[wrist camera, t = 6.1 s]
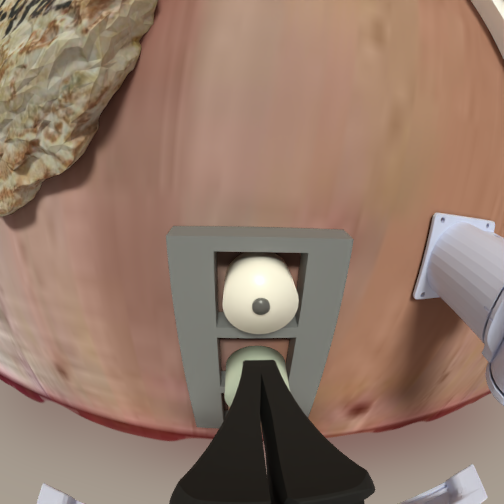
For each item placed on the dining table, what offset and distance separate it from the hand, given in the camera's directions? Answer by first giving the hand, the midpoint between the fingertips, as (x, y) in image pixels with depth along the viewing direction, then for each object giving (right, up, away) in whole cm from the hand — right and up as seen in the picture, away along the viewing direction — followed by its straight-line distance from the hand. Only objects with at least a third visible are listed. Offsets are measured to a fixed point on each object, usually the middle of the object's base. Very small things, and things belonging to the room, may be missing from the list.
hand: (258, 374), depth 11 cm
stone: (-17, +20, +2) cm, 26 cm away
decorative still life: (+34, +48, -8) cm, 59 cm away
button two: (0, -4, +10) cm, 10 cm away
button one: (0, +3, +9) cm, 9 cm away
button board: (0, -3, +12) cm, 12 cm away
